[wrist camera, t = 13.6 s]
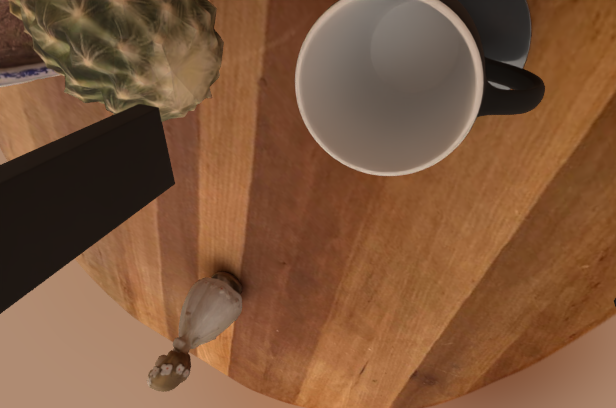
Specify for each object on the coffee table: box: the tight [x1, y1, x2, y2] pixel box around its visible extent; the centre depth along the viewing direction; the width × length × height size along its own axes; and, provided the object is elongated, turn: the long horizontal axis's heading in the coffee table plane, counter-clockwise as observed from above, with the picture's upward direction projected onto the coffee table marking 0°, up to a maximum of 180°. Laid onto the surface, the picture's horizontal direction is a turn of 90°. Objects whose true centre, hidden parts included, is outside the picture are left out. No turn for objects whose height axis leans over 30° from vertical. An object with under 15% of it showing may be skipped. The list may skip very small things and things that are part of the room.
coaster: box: [458, 0, 532, 90], centre depth 25 cm, size 11×11×1 cm
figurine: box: [147, 271, 242, 391], centre depth 44 cm, size 8×7×15 cm
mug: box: [295, 0, 545, 176], centre depth 21 cm, size 12×9×10 cm
